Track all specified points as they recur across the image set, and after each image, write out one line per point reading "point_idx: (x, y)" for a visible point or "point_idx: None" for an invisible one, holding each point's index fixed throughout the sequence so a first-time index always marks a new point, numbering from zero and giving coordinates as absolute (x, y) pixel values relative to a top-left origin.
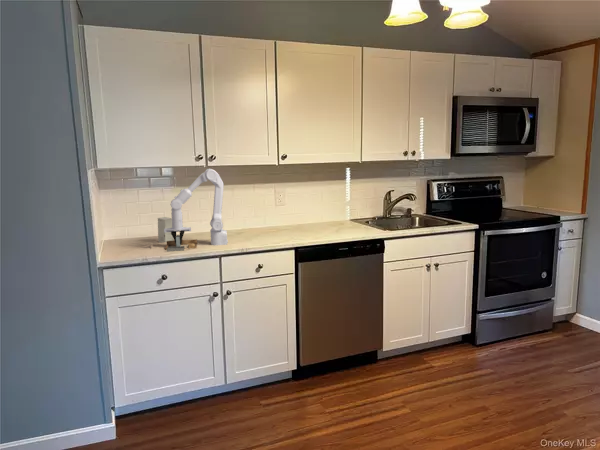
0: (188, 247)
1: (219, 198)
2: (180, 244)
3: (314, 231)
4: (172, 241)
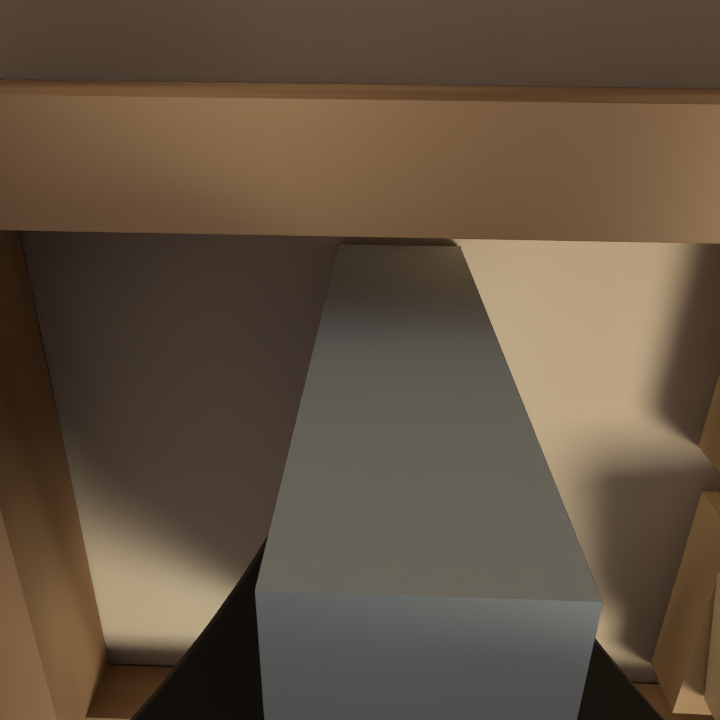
0: (692, 670)
1: None
2: None
3: None
4: (38, 220)
